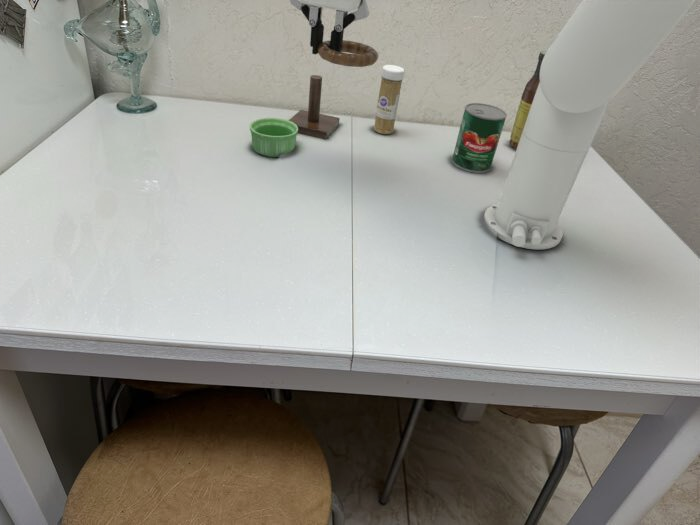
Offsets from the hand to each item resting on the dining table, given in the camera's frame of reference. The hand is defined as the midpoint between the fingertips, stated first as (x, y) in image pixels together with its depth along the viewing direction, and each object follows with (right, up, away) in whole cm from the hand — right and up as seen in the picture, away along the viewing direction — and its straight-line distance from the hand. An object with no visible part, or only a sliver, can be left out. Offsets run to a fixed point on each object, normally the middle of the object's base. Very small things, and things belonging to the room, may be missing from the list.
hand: (325, 53), depth 79 cm
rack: (-4, -5, +25) cm, 26 cm away
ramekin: (-11, -12, +15) cm, 22 cm away
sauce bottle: (+42, -9, +29) cm, 52 cm away
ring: (+4, 0, -1) cm, 4 cm away
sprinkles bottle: (+11, -5, +28) cm, 31 cm away
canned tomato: (+28, -14, +19) cm, 37 cm away
